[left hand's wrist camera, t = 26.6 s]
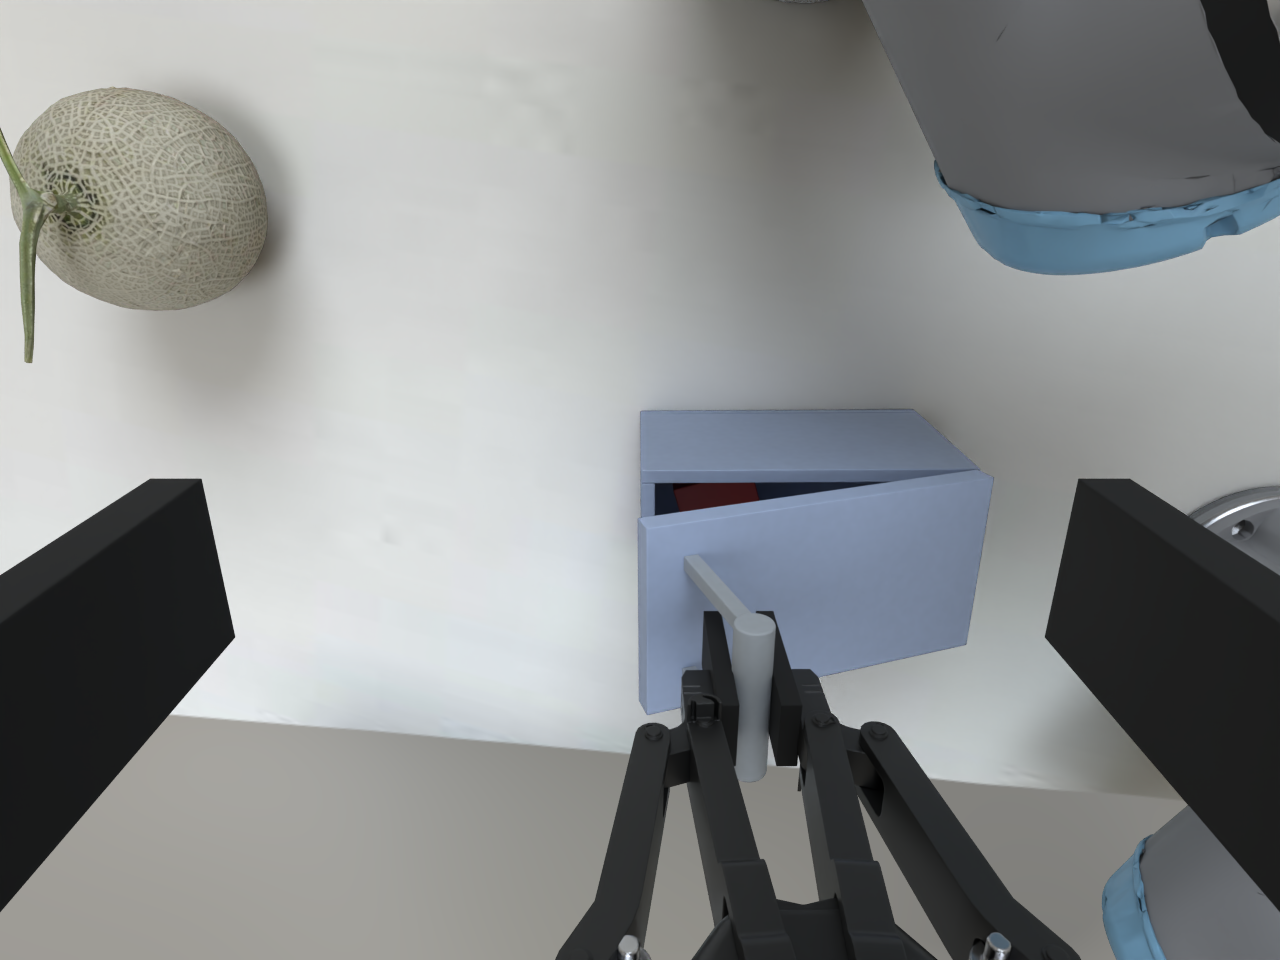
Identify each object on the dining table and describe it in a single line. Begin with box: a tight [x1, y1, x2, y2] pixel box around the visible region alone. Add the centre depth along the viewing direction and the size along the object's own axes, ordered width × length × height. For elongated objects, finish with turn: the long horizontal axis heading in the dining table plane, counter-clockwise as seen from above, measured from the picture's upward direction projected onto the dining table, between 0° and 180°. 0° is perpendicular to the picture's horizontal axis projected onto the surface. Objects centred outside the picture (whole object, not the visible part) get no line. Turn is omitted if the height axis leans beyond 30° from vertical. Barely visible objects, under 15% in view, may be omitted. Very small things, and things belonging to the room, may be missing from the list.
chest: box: [640, 409, 980, 518], centre depth 48 cm, size 17×10×11 cm, turn 90°
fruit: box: [0, 87, 268, 363], centre depth 39 cm, size 10×12×15 cm
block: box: [673, 483, 760, 512], centre depth 50 cm, size 5×5×5 cm
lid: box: [638, 470, 994, 782], centre depth 36 cm, size 18×10×8 cm, turn 90°
